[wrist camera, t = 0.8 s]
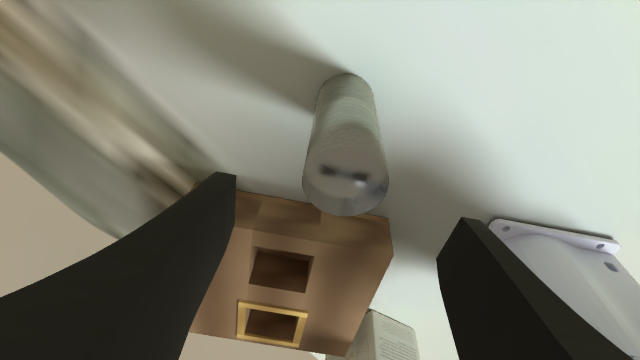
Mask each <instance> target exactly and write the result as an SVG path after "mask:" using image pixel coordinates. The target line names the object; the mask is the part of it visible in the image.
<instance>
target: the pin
mask: <svg viewBox="0 0 640 360" xmlns="http://www.w3.org/2000/svg"><path fill="white" fill-rule="evenodd" d="M388 185H389V177H388V172H387V167H386V161H385V156H384V151H383V145H382V140H381V134H380V129H379V124H378V118H377V113H376V108H375V102H374V97H373V92H372V90H371V88H370V86H369V85H368V83H367V82H366V81H365V80H363V79H362V78H360V77H358V76H356V75H352V74H340V75H337V76H334V77H332V78H331V79H329V80H328V81H327V82H326V83H325V84H324V85H323V86H322V88H321V90H320V92H319V96H318V100H317V105H316V111H315V116H314V121H313V126H312V131H311V136H310V141H309V146H308V151H307V156H306V161H305V166H304V171H303V176H302V186H303V190H304V193H305V195H306V197H307V198H308V200H309V201H310V202H311V203H312V204H313V205H314V206H315V207H317V208H318V209H320V210H321V211H324V212H326V213H328V214H332V215H336V216H355V215H360V214H363V213H365V212H368V211H370V210H371V209H373V208H374V207H376V206H377V205H378V204H379V203H380V202H381V201H382V200H383V198H384V197H385V195H386V193H387V190H388Z"/></svg>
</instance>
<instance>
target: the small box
mask: <svg viewBox="0 0 640 360" xmlns="http://www.w3.org/2000/svg"><path fill="white" fill-rule="evenodd" d="M325 360H420V356H419V351H418V346H417V340H416V335H415V331H414V329H412V328H410V327H408V326H405V325H403V324H401V323H399V322H397V321H394V320H392V319H390V318H388V317H386V316H384V315H382V314H380V313H377V312H375V311H373V310H371V311H370V312H369V313H367V314H366V315H365V316H364V318H363V320H362V322H361V324H360V326H359V328H358V330H357V333H356V335H355V337H354V339H353V341H352V343H351V345H350V347H349V349H348V351H347V353H346V355H345V357H340V356H334V355H327V354H326V359H325Z"/></svg>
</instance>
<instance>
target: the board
mask: <svg viewBox="0 0 640 360" xmlns="http://www.w3.org/2000/svg"><path fill="white" fill-rule="evenodd" d="M199 184H200V183H195V185H194V186H193V188H192V189H191V191H192V190H193V189H194V188H196V187H197V186H198V185H199ZM392 257H393V248H392V242H391V235H390V229H389V222H388V218H384V217H379V216H374V215H368V214H360V215H355V216H336V215H332V214H328V213H326V212H324V211H321V210H320V209H318V208H317V207H315V206H314V205H313V204H308V203H303V202H298V201H292V200H287V199H281V198H276V197H270V196H265V195H260V194H254V193H249V192H243V191H238V190H236V203H235V224H234V228H233V231H232V234H231V237H230V240H229V243H228V246H227V249H226V252H225V254H224V256H223V258H222V260H221V262H220V265H219V267H218V269H217V271H216V273H215V275H214V277H213V279H212V282H211V284H210V286H209V288H208V290H207V292H206V294H205V296H204V298H203V301H202V303H201V305H200V307H199V309H198V311H197V313H196V315H195V318H194V320H193V322H192V325H191V327H190V329H189V332H191V333H197V334H204V335H209V336H216V337H222V338H229V339H234V340H240V341H247V342H253V343H260V344H265V345H272V346H278V347H285V348H290V349H296V350H303V351H309V352H315V353H321V354H327V355H334V356H340V357H345V355H346V353H347V351H348V349H349V347H350V345H351V343H352V341H353V339H354V337H355V335H356V333H357V330H358V328H359V326H360V324H361V322H362V320H363V318H364V316H365V314H366V312H367V310H368V307H369V305H370V303H371V301H372V299H373V297H374V295H375V293H376V291H377V289H378V287H379V285H380V282H381V280H382V278H383V276H384V274H385V272H386V270H387V268H388V266H389V264H390V262H391V260H392Z"/></svg>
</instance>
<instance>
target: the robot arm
mask: <svg viewBox="0 0 640 360" xmlns="http://www.w3.org/2000/svg"><path fill="white" fill-rule="evenodd" d="M235 203H236V175H232V174H227V173H221V172H215V173H214V174H212V175H211V176H210V177H208V178H207V179H206V180H205V181H203V182H202V183H201V184H199V185H198V186H197V187H196V188H194V189H193V190H192V191H190V192H189V193H188V194H186V195H185V196H184V197H182V198H181V199H180V200H178V201H177V202H176V203H174V204H173V205H171V206H170V207H169V208H167V209H166V210H165V211H163V212H162V213H160V214H159V215H157V216H156V217H154V218H153V219H151V220H150V221H148V222H147V223H145V224H144V225H142V226H141V227H139V228H138V229H136V230H135V231H133V232H131V233H130V234H128V235H126V236H125V237H123V238H121V239H120V240H118V241H116V242H115V243H113V244H111V245H109V246H107V247H106V248H104V249H102V250H100V251H98V252H97V253H95V254H93V255H91V256H89V257H88V258H85V259H83V260H81V261H79V262H77V263H75V264H73V265H71V266H69V267H67V268H65V269H63V270H61V271H59V272H56V273H54V274H52V275H50V276H48V277H46V278H44V279H42V280H40V281H37V282H36V283H33V284H31V285H28V286H26V287H24V288H21V289H19V290H17V291H15V292H12V293H10V294H8V295H5V296H3V297H0V360H178V359H179V356H180V354H181V351H182V348H183V346H184V343H185V340H186V337H187V335H188V332H189V329H190V327H191V325H192V322H193V320H194V318H195V315H196V313H197V311H198V309H199V307H200V305H201V303H202V301H203V298H204V296H205V294H206V292H207V290H208V288H209V286H210V284H211V282H212V279H213V277H214V275H215V273H216V271H217V269H218V267H219V265H220V262H221V260H222V258H223V256H224V254H225V252H226V249H227V246H228V243H229V240H230V237H231V234H232V231H233V228H234V224H235ZM505 226H507V227H505ZM620 248H621V245H620V244H619V243H618V242H617V241H615V240H610V239H605V238H599V237H594V236H589V235H583V234H578V233H573V232H567V231H562V230H557V229H551V228H546V227H541V226H535V225H530V224H525V223H519V222H514V221H509V220H503V219H496V220H494V221H492V222H491V223H490V225H489V226H488V227H487V226H486V225H485V224H484V223H482V222H481V221H480V220H475V219H470V218H465V217H461V218H460V220H459V222H458V223H457V225H456V227H455V228H454V230H453V232H452V233H451V235H450V237H449V238H448V240H447V242H446V243H445V245H444V247H443V248H442V250H441V252H440V253H439V255H438V257H437V258H436V261H437V270H438V278H439V285H440V290H441V294H442V298H443V302H444V306H445V309H446V313H447V317H448V320H449V324H450V328H451V331H452V335H453V338H454V342H455V346H456V349H457V353H458V356H459V360H640V285H639V284H638V283H637V281H636V280H635V279H634V278H633V277H632V276H631V275H630V273H629V272H628V271H627V270H626V269H625V268H624V267H623V266H622V264H621V263H620V262H619V261H618V260H617V259H616V258H615V256H614V254H615V253H616V252H618V251H619V250H620Z"/></svg>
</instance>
